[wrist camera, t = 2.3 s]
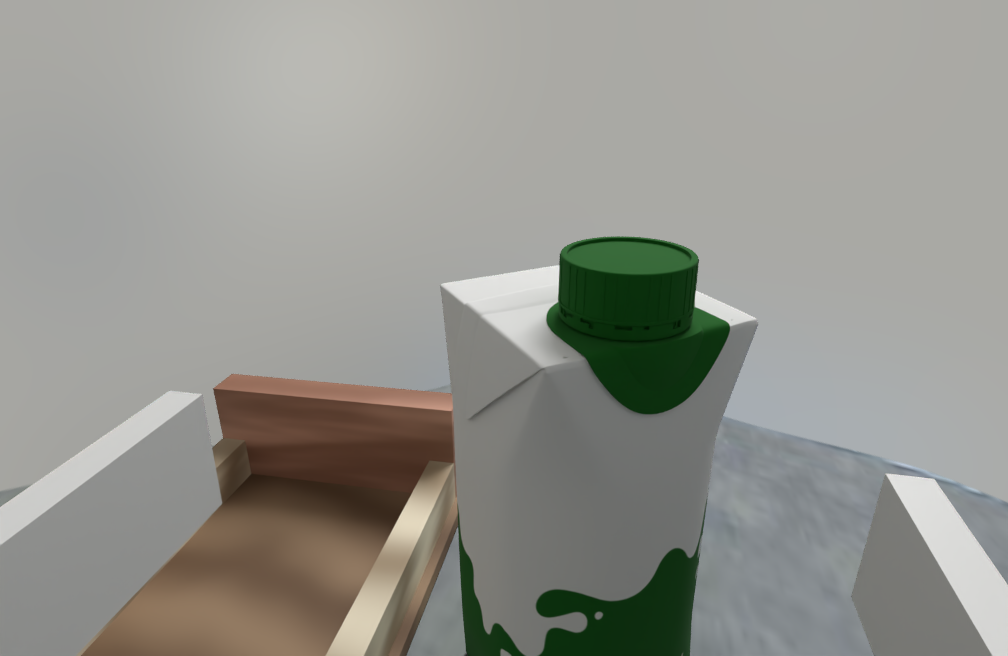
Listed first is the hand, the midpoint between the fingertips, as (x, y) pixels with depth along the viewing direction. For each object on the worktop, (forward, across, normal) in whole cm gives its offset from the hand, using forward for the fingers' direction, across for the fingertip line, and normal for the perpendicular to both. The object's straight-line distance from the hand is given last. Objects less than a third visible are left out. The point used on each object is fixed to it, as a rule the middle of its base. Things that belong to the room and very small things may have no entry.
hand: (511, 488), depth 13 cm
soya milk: (+10, +1, -18) cm, 20 cm away
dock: (+12, -15, -18) cm, 26 cm away
